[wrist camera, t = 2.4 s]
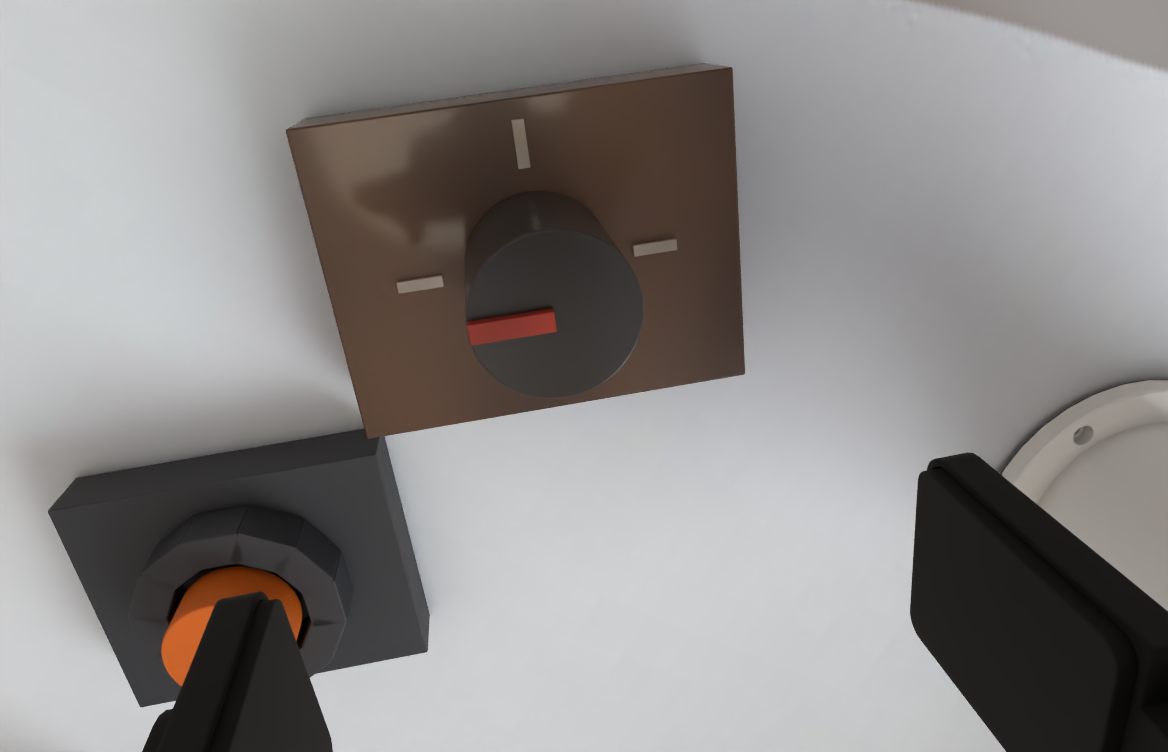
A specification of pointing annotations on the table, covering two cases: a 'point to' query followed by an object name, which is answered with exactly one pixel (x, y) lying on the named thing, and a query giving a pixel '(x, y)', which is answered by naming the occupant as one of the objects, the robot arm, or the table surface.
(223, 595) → the switch
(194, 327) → the table surface
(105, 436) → the table surface
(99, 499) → the switch base
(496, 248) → the dial
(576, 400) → the dial panel
